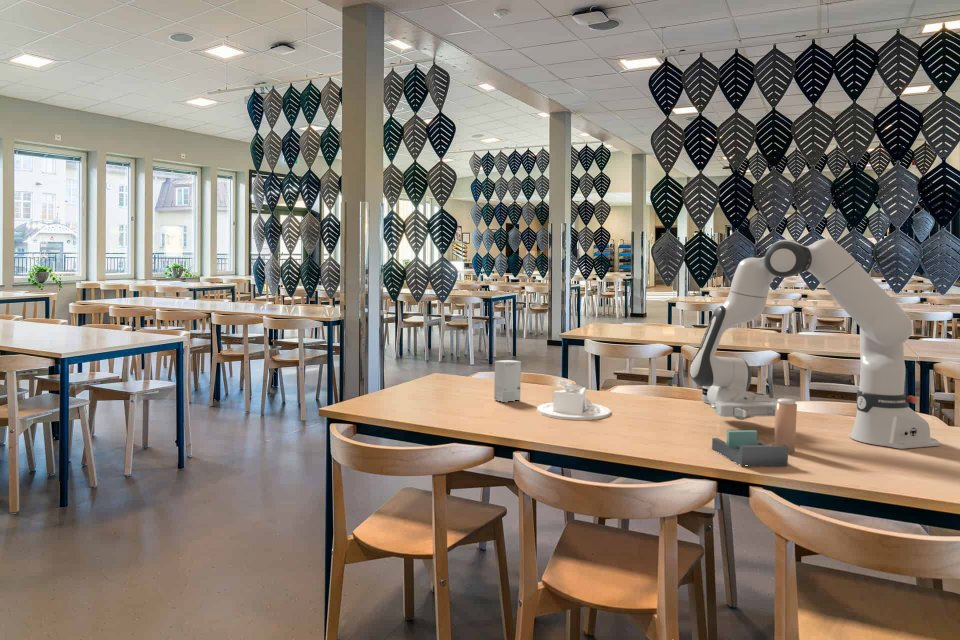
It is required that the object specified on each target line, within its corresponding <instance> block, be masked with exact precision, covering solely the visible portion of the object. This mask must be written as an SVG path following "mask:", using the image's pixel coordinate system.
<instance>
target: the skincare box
mask: <svg viewBox="0 0 960 640" xmlns="http://www.w3.org/2000/svg"><path fill="white" fill-rule="evenodd" d="M521 373H522V361H521V360H515V359H513V360H512V359H509V360H507V359H506V360H503V359H501V360H494V387H493V388H494V390H493V391H494V393H493V394H494V395H493V396H494V397H493V400H494V399H495V400H494V401H496V400H498V401H497V402H499V401H501V402H500V403H502V402H505V403H509V402H508V401H513V402H516V401H515V400H520V401H521V384H522V383H521V381H522V379H521V378H522V374H521Z"/></svg>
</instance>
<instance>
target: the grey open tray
mask: <svg viewBox="0 0 960 640" xmlns="http://www.w3.org/2000/svg"><path fill="white" fill-rule="evenodd" d="M711 441H712V442H711V450H713V451H715V452H716V451H717V452H716V453H718V452H719V453H718V454H720V453H721V454H722V455H721V454H720V455H721V456H723V455H724V456H726V457H728V458H729V459H731V460H733V461H734V462H736V463H738V464H740V465H741V466H745V465H748V466H768V467H788V464H789V462H788V461H789V454H788V446H786V445H774V444H768V443H767V442H764V441H763V440H760V439H758V438H757V445H747V446H740V447H739V450H738V449H736V448H735V447H733V446H731V445H729V444H727V441H724V440H722V439H720V438H718V437H712V440H711ZM724 456H723V457H724ZM726 457H725V458H726ZM728 458H727V459H728ZM729 459H728V460H729ZM731 460H730V461H731ZM733 461H732V462H733ZM734 462H733V463H734ZM736 463H735V464H736ZM738 464H737V465H738ZM741 466H740V467H741Z"/></svg>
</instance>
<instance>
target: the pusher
mask: <svg viewBox="0 0 960 640" xmlns="http://www.w3.org/2000/svg"><path fill="white" fill-rule="evenodd" d="M757 439H758V431H757V430H755V429H754V430H750V429H749V430H727V431H726V443H727V444H729V445H731V446H733V447H735V448H736V449H738V450H739V447H740V446H747V445H757Z"/></svg>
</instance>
